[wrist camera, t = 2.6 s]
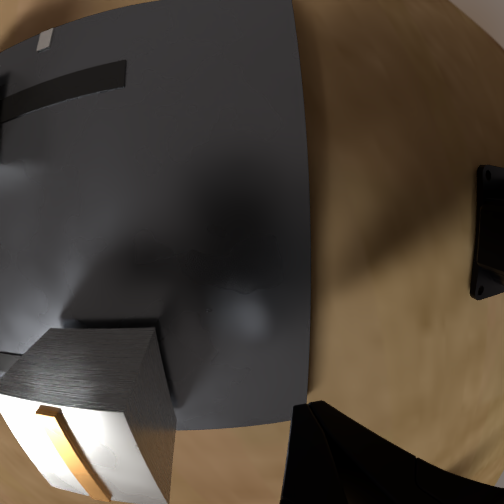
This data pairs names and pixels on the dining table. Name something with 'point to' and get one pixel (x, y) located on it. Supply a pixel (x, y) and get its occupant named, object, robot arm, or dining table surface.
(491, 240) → the robot arm
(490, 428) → the dining table surface
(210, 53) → the plate
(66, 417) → the fader
